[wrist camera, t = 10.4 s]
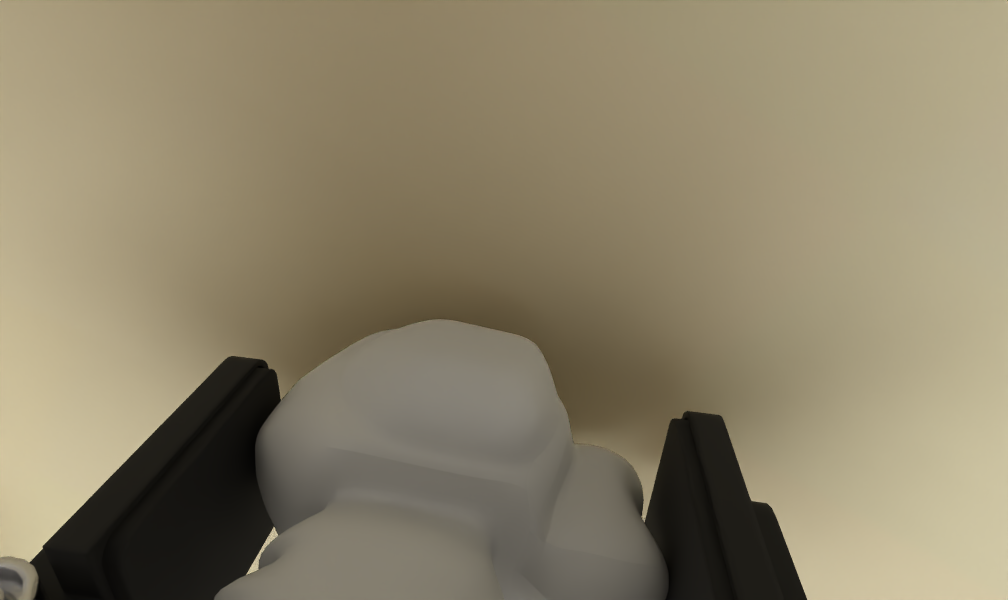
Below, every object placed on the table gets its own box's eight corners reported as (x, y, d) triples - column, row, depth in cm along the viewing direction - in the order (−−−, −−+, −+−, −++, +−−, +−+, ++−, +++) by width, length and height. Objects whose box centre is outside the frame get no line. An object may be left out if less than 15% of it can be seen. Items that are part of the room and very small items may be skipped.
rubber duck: (322, 240, 10) (-265, 796, 3) (691, 323, 10) (952, 1088, 3) (313, 464, 13) (-19, 1046, 6) (606, 531, 13) (640, 1204, 6)
